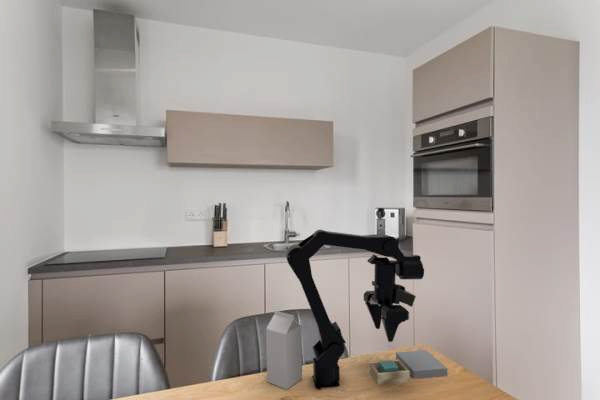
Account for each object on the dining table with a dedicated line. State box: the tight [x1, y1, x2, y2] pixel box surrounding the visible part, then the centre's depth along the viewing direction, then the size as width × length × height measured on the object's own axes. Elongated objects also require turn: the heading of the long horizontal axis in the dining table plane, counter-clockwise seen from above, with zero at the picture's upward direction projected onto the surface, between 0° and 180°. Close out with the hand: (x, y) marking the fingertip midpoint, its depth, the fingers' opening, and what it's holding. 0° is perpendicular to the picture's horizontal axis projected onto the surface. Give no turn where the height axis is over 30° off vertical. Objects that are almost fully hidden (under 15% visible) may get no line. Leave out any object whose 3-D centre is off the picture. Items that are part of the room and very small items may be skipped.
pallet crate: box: [368, 359, 411, 386], centre depth 96 cm, size 9×7×4 cm
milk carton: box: [265, 310, 303, 390], centre depth 96 cm, size 7×7×19 cm
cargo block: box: [379, 360, 398, 373], centre depth 96 cm, size 4×4×4 cm
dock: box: [395, 349, 448, 380], centre depth 102 cm, size 10×12×2 cm
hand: (383, 334), depth 97 cm, fingers open, 9 cm apart
